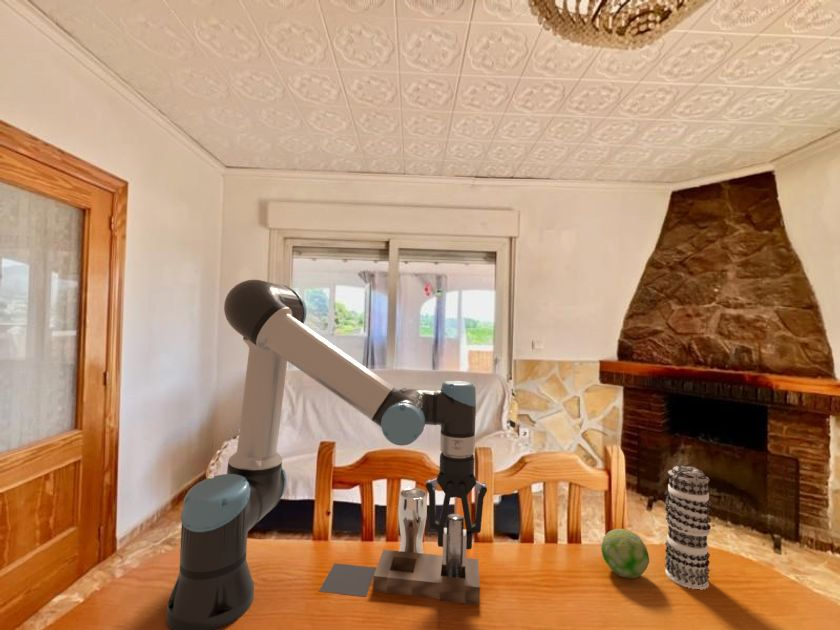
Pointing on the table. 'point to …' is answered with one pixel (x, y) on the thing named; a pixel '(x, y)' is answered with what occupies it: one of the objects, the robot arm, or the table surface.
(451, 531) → the steel peg
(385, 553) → the socket block
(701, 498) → the decorative candle
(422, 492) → the beer glass
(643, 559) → the decorative ball
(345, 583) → the rubber mat
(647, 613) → the table surface
